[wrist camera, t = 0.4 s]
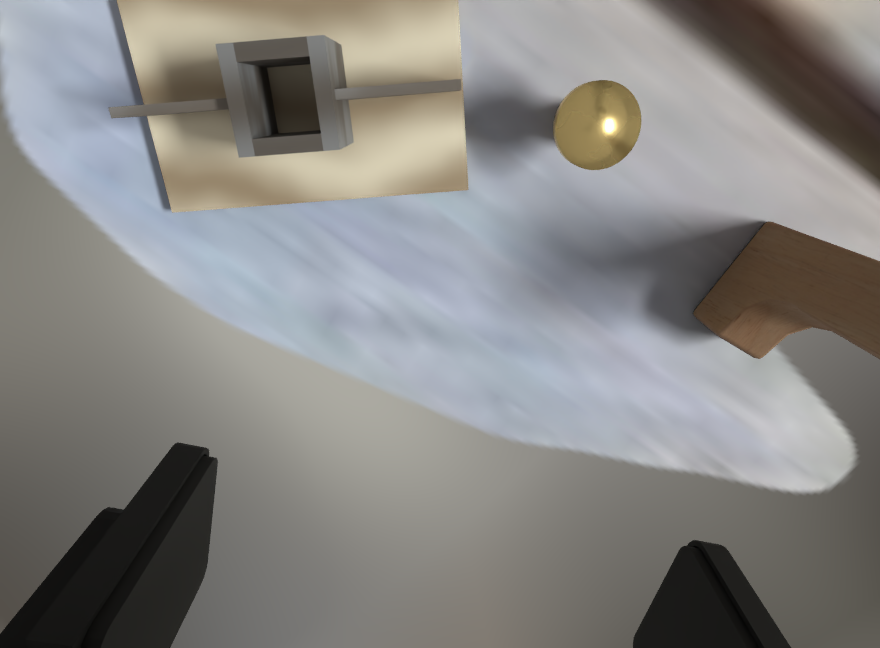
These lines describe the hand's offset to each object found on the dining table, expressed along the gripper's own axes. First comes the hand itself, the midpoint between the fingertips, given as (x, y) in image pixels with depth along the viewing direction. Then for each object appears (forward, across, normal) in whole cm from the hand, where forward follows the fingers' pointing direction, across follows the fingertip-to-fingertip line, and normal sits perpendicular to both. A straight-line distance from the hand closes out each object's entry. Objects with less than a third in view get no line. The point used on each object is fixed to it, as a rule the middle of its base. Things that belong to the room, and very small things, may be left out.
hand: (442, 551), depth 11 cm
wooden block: (+34, -25, -1) cm, 42 cm away
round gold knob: (+33, -8, -9) cm, 35 cm away
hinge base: (+33, +11, -6) cm, 36 cm away
